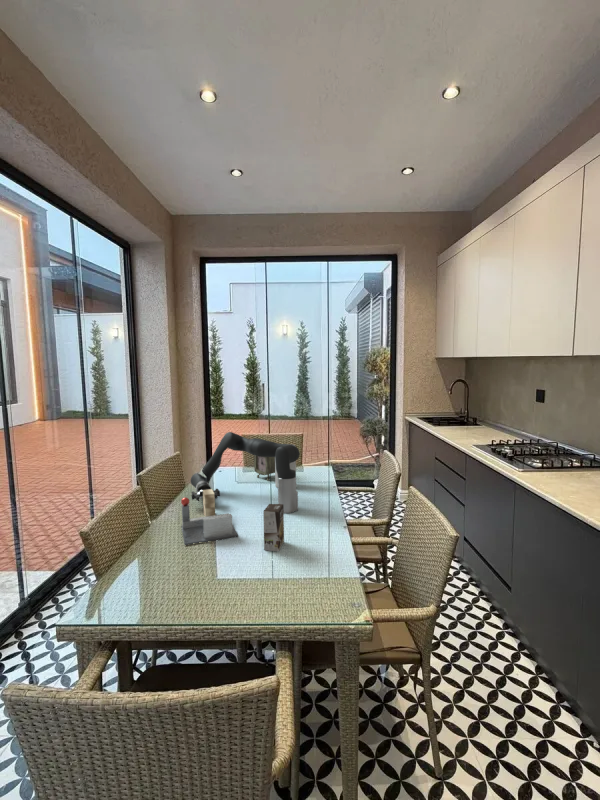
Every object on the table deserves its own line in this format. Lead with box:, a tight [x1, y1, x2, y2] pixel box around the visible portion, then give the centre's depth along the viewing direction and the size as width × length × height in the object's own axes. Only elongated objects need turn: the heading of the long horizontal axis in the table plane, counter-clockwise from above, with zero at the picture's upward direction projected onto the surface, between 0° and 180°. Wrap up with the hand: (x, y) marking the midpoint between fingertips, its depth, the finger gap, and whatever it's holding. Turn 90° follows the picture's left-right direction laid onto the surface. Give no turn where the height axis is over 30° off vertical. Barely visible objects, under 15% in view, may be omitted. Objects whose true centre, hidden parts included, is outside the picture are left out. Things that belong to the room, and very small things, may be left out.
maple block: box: [202, 488, 216, 517], centre depth 193 cm, size 4×8×12 cm, turn 21°
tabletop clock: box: [253, 455, 275, 482], centre depth 256 cm, size 14×9×25 cm, turn 43°
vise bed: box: [180, 513, 239, 546], centre depth 173 cm, size 22×20×9 cm
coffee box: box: [263, 503, 285, 552], centre depth 159 cm, size 9×6×16 cm
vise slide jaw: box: [180, 496, 230, 529], centre depth 179 cm, size 21×4×14 cm, turn 111°
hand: (207, 498), depth 198 cm, fingers open, 8 cm apart
